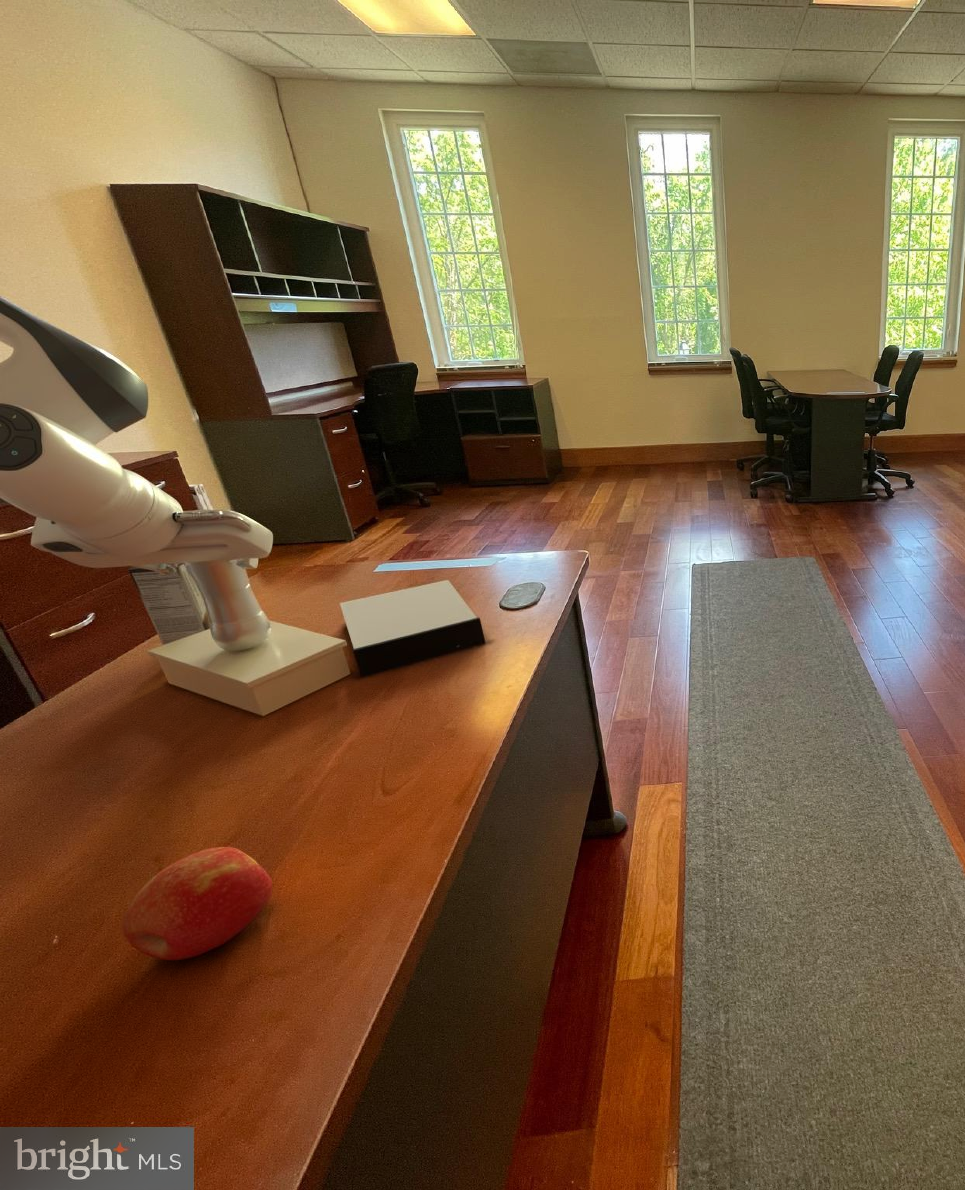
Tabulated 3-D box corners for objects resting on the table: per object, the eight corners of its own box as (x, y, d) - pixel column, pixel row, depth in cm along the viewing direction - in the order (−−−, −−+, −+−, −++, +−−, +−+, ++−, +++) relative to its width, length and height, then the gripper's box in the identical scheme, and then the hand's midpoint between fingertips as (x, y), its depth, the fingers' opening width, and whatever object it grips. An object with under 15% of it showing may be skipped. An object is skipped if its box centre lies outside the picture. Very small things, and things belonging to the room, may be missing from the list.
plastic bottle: (208, 659, 85) (148, 522, 77) (234, 637, 91) (181, 508, 83) (262, 653, 87) (209, 518, 79) (284, 632, 93) (238, 505, 85)
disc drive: (362, 679, 92) (352, 650, 90) (345, 627, 108) (337, 601, 106) (486, 645, 102) (480, 618, 100) (454, 602, 118) (449, 578, 116)
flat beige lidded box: (163, 686, 90) (146, 650, 87) (261, 647, 101) (249, 614, 98) (262, 721, 82) (246, 683, 80) (356, 675, 93) (345, 640, 91)
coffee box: (200, 638, 103) (162, 549, 97) (246, 633, 105) (211, 545, 99) (168, 664, 95) (124, 568, 89) (218, 658, 97) (178, 564, 91)
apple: (297, 913, 55) (267, 848, 52) (182, 998, 48) (140, 928, 45) (245, 884, 58) (214, 819, 55) (130, 960, 51) (86, 891, 48)
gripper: (237, 489, 74) (301, 541, 87) (28, 497, 69) (128, 550, 82) (228, 535, 72) (296, 581, 84) (12, 547, 67) (117, 593, 80)
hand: (211, 566), depth 83 cm, fingers open, 8 cm apart
